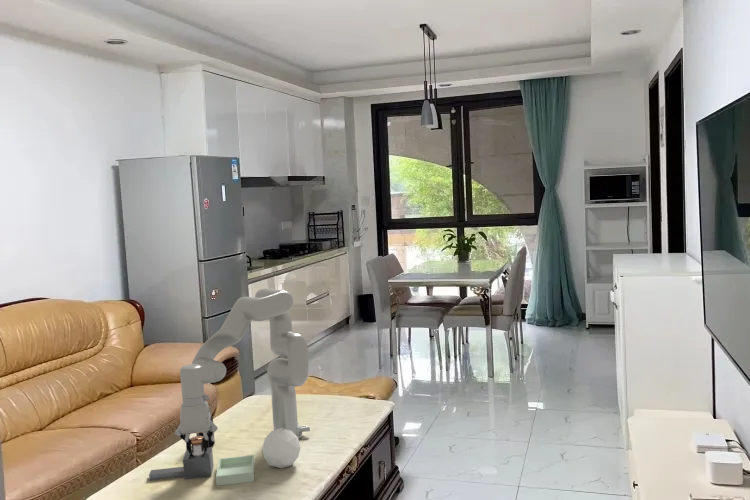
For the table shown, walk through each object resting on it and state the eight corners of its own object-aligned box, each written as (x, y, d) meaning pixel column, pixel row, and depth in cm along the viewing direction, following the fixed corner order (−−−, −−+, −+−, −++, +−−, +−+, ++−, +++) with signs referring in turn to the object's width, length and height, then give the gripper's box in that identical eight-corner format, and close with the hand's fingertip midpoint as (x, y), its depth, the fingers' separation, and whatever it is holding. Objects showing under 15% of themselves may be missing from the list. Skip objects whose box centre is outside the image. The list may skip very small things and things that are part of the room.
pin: (207, 468, 235) (204, 435, 234) (206, 474, 230) (203, 440, 229) (193, 470, 234) (190, 436, 233) (192, 475, 229) (189, 441, 228)
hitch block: (213, 465, 237) (212, 447, 236) (211, 476, 228) (209, 456, 227) (152, 472, 234) (151, 453, 233) (148, 483, 225) (146, 463, 224)
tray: (219, 467, 235) (219, 458, 235) (254, 463, 237) (254, 454, 237) (216, 485, 220) (215, 476, 220) (253, 481, 222) (252, 472, 222)
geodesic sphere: (267, 439, 244) (261, 418, 235) (304, 438, 244) (299, 417, 235) (263, 475, 234) (256, 455, 224) (301, 474, 233) (296, 453, 224)
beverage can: (210, 449, 253) (207, 419, 251) (194, 449, 254) (192, 418, 253) (217, 442, 259) (215, 413, 258) (202, 442, 260) (199, 412, 259)
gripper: (219, 394, 234) (223, 444, 236) (170, 399, 232) (174, 449, 234) (217, 401, 227) (222, 452, 229) (166, 406, 225) (171, 458, 226)
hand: (198, 450), depth 231 cm, fingers closed on pin, 4 cm apart
